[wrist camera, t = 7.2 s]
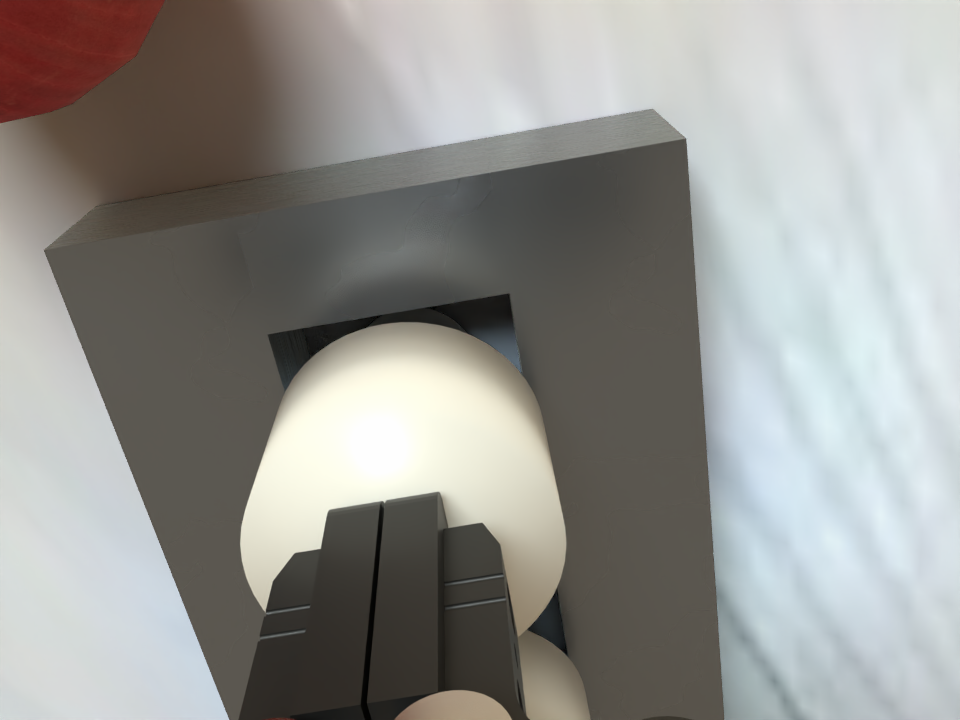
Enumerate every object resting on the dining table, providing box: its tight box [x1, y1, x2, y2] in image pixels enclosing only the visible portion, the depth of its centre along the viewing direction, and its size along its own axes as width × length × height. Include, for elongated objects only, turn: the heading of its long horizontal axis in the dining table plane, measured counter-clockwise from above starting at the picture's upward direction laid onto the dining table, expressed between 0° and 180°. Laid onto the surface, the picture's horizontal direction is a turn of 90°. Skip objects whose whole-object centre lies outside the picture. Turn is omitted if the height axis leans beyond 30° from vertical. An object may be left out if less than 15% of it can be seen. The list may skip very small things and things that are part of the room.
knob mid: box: [518, 630, 591, 720], centre depth 18 cm, size 4×4×6 cm
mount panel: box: [44, 109, 724, 720], centre depth 19 cm, size 10×20×2 cm, turn 9°
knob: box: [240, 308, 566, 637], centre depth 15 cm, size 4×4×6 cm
